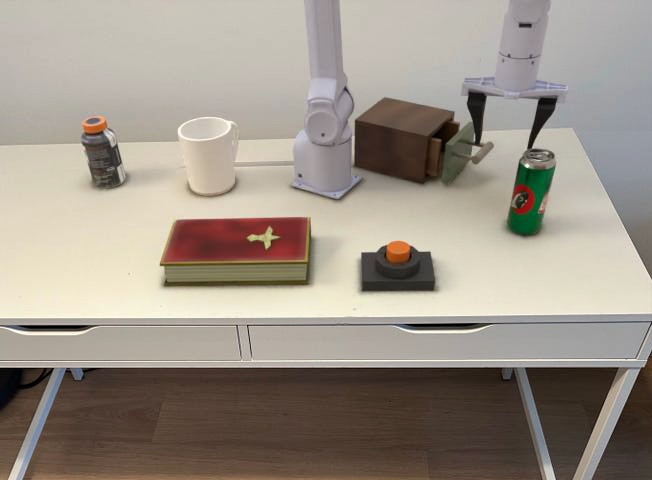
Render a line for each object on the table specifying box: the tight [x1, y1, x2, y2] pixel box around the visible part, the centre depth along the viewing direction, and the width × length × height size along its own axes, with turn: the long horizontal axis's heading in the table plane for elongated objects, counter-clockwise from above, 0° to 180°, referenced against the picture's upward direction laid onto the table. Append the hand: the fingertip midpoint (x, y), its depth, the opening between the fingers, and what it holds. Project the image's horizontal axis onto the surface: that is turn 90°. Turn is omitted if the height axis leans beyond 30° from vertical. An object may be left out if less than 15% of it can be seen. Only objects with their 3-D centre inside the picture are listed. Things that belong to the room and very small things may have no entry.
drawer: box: [426, 120, 495, 184], centre depth 113 cm, size 17×9×7 cm, turn 55°
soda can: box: [506, 147, 557, 236], centre depth 97 cm, size 5×5×12 cm
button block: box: [360, 244, 436, 292], centre depth 93 cm, size 10×7×4 cm
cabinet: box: [353, 96, 456, 185], centre depth 116 cm, size 14×11×9 cm
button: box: [386, 240, 411, 263], centre depth 92 cm, size 3×3×2 cm
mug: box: [177, 116, 240, 197], centre depth 113 cm, size 11×9×10 cm
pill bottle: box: [80, 115, 127, 189], centre depth 116 cm, size 6×6×11 cm
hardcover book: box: [159, 216, 312, 287], centre depth 98 cm, size 12×21×4 cm, turn 87°
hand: (503, 144), depth 101 cm, fingers open, 7 cm apart
